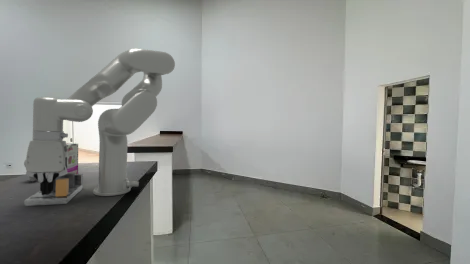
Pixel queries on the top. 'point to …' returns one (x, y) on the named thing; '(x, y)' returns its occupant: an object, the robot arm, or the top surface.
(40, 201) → the console
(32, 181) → the lightbulb
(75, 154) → the candy bar box
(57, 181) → the cap
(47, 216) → the top surface
